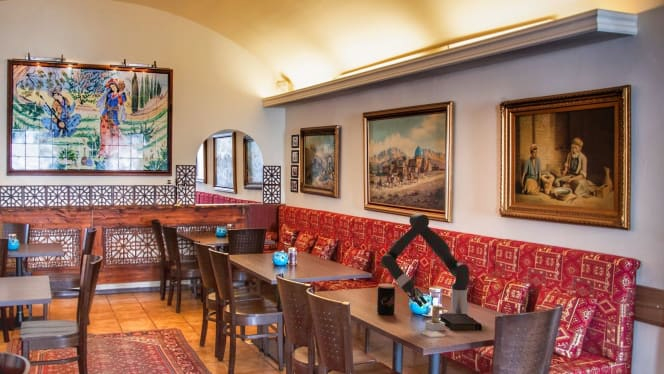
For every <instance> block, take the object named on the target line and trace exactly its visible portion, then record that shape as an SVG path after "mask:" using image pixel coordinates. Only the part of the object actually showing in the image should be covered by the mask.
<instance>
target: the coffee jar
mask: <svg viewBox="0 0 664 374" xmlns="http://www.w3.org/2000/svg"><path fill="white" fill-rule="evenodd" d="M377 287H378V288H377V298H376V299H377V303H376V304H377V305H376V312H377V314H378V315H379V316H386V317H387V316H393V315H394V314H395V309H396V308H395V305H396V304H395V302H396V300H395V299H396V289H395V287H396V285H395V284H392V283H378V284H377Z"/></svg>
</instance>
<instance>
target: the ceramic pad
mask: <svg viewBox="0 0 664 374" xmlns="http://www.w3.org/2000/svg"><path fill="white" fill-rule="evenodd" d="M422 335H424V336H426V337H428V338H430V339H433V338H434V339H435V338H445V337H446V334H444V333H442V332H440V331H424V332H423V331H422Z"/></svg>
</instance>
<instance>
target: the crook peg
mask: <svg viewBox="0 0 664 374" xmlns="http://www.w3.org/2000/svg"><path fill="white" fill-rule="evenodd" d="M431 308H432V309H431V311H432V313H431V314H432V315H431V320H432V323H439V320H440V315H439V314H440V311H442V312H444V311H445V306H440V305H432V307H431Z"/></svg>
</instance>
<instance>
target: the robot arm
mask: <svg viewBox="0 0 664 374" xmlns="http://www.w3.org/2000/svg"><path fill="white" fill-rule="evenodd" d="M408 221H409V225H410V229H408V231H406V232H405V233H404V234H401V236H400V237H398V239H397V240H396V241H395V242H394V243H393V244H392V245H391V246H390V248H389V250H388V252H387V253H386V254H384V255H383V256H382V257H381V260H380V265H381V267H382V268H384V269H387V271H389V274H390V276H391V277H392V279H394V281H395V282H396V283H397V285H398V286H399V287H400V289H401V290H402V291H403V292H404V293H405V294H407V296H408V297H409V299H410V300H411V301H412V302H413V303H416V305H417V306H418V307H419V308H422V307H423V305H426V304H427V303H428V300H426V299H425V297H424V296H425V295H424V294H423V292H421V290H420V289H419V288H418V287H415V286H416V283H415V282H414V281H413V280H412V279H411V278H410V277H409V275H408V274H406V273H405V271H404V270H403V269H402V267H400V266H399V264H398V263H397V260H398V258H399V256H400V255H402V253H403V252H404V251H405V249H407V247H408V246H409V245H410V244H411V243H412V241H414V239H416V238H417V237H418V236H421V237H422V239H423V240H424V241H425V243H426V244H427V245H428V247H429V248H430V249H431V250H432V252H433V253H434V254H435V255H436V256H437V257H438V258H439V260H441V262H442V263H443V265H445V267H446V269H447V270H448V271H449V272H450V274H451V275H452V276H453V277H455V280H454V281H455V282H454V283H452V284H451V302H450V303H451V305H450V306H451V307H450V313H455V314H467V315H468V312H469V302H468V300H467V299H468V296H467V295H468V286H469V283H470V282H469V281H470V268H469V266H468V265H467V264H466V263H463V262H459V261H458V260H457V259H456V258H455V257H454V255H453V254H452V252H451V248H450V247H449V244H448V243H447V242H446V241H445V240H444V239H443V237H441V235H439V234H438V233H437V232H435V231H434V230H432V229H431V228H430V227H429V224H430V219H429V217H428V216H427V215H426V214H423V213H413V214H411V215H410V217H409V219H408ZM468 316H469V315H468Z"/></svg>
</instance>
